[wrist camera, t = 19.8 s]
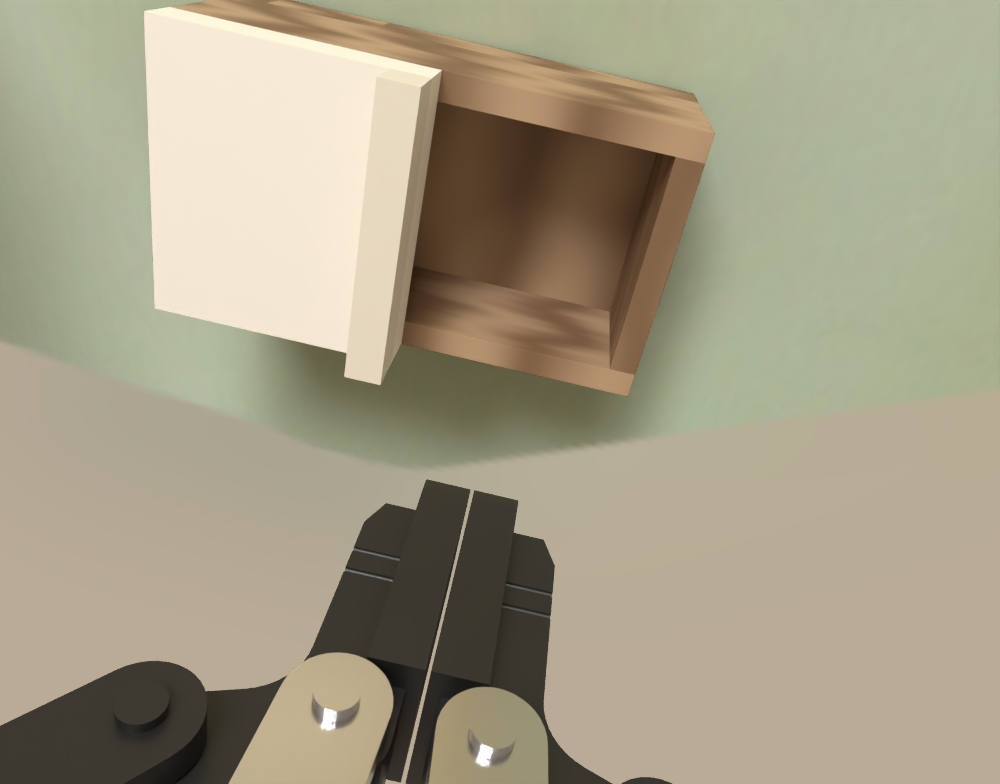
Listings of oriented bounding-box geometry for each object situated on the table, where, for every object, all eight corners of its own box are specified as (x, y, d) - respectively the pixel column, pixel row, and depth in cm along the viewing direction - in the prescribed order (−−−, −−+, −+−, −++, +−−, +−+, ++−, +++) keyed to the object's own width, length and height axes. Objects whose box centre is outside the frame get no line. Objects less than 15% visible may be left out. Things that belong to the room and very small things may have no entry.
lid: (175, 291, 37) (131, 327, 34) (169, 7, 31) (114, 15, 27) (401, 343, 37) (380, 385, 34) (442, 70, 31) (421, 87, 27)
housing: (250, 230, 45) (176, 291, 37) (257, -8, 39) (170, 7, 31) (624, 317, 45) (627, 396, 37) (693, 93, 38) (715, 133, 31)
